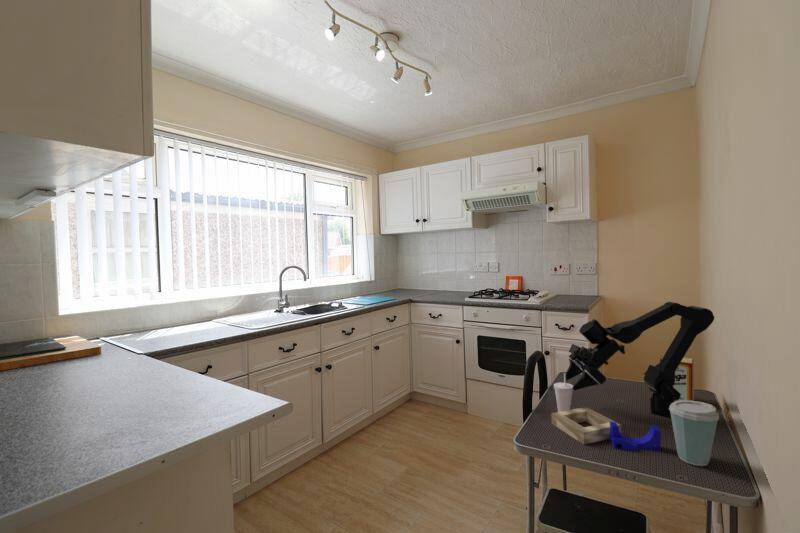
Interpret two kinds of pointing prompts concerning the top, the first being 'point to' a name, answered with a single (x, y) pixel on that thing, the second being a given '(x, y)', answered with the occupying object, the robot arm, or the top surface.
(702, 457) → the disposable coffee cup
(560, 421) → the bottle stand
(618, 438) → the cable clip
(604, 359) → the robot arm
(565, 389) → the smoothie
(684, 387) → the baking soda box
